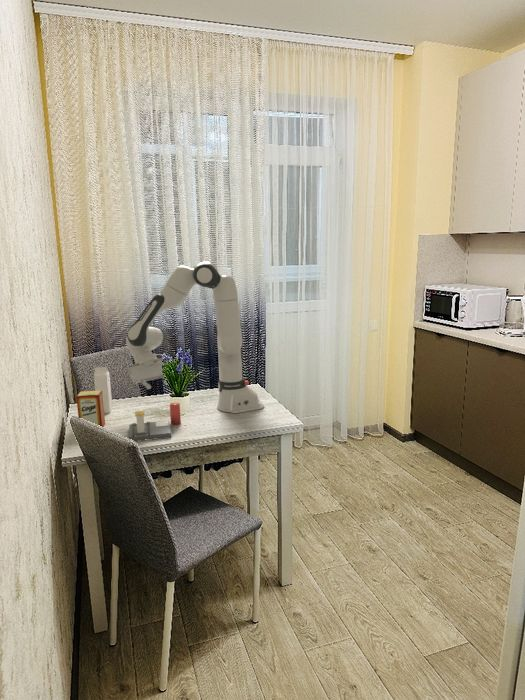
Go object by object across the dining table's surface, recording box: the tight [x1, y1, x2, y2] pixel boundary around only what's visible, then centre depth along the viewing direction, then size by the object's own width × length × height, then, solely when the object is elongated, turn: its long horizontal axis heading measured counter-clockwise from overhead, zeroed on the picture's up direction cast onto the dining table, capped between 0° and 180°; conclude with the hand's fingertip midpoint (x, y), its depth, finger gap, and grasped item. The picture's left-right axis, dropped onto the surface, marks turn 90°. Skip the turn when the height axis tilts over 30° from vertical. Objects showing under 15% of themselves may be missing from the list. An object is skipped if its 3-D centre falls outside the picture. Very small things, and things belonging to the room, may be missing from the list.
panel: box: [128, 420, 172, 442], centre depth 211 cm, size 17×15×3 cm
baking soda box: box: [75, 390, 106, 428], centre depth 217 cm, size 10×6×16 cm
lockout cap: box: [169, 402, 182, 426], centre depth 221 cm, size 4×4×9 cm
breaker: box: [134, 410, 147, 436], centre depth 204 cm, size 4×5×9 cm
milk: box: [93, 366, 113, 414], centre depth 237 cm, size 6×6×22 cm
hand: (158, 386), depth 227 cm, fingers open, 8 cm apart
